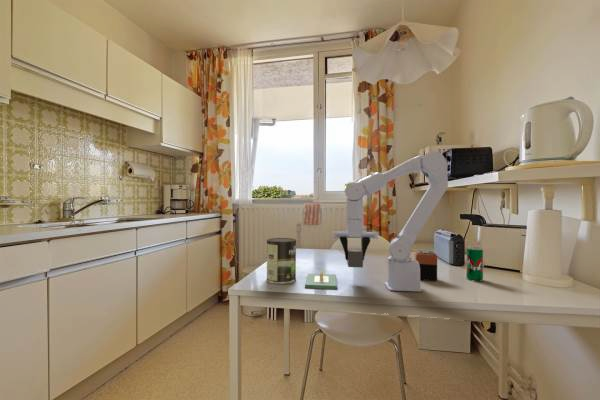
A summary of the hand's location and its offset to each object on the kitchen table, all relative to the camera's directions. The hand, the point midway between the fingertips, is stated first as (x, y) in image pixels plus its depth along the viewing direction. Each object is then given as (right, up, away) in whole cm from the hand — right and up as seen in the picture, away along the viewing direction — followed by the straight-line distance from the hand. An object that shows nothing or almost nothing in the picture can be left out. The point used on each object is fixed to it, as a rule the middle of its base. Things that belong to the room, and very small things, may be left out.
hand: (354, 259), depth 96 cm
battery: (+27, -8, +6) cm, 29 cm away
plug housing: (0, -2, 0) cm, 2 cm away
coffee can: (-25, -8, +4) cm, 26 cm away
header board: (-11, -8, +1) cm, 14 cm away
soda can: (+44, -9, +6) cm, 45 cm away
